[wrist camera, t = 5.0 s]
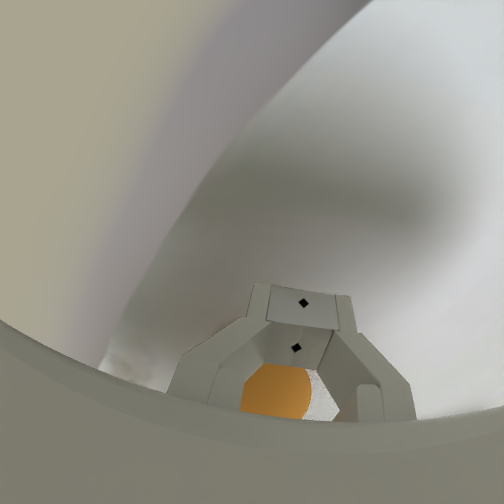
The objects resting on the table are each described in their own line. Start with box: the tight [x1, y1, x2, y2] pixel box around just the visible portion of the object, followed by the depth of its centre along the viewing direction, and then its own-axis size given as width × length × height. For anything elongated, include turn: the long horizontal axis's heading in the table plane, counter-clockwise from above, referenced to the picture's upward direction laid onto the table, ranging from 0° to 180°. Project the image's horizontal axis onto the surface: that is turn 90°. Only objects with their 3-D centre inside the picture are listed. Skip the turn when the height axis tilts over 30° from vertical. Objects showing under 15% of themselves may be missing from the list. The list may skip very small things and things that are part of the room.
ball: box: [240, 363, 311, 419], centre depth 17 cm, size 6×6×6 cm
